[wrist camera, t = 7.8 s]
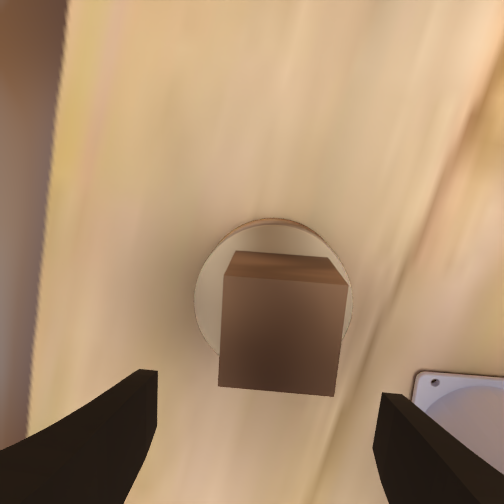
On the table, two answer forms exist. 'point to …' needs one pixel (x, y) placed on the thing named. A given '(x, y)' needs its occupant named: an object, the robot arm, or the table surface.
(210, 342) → the birch round
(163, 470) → the table surface
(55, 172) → the table surface
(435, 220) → the table surface
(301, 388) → the walnut cube
